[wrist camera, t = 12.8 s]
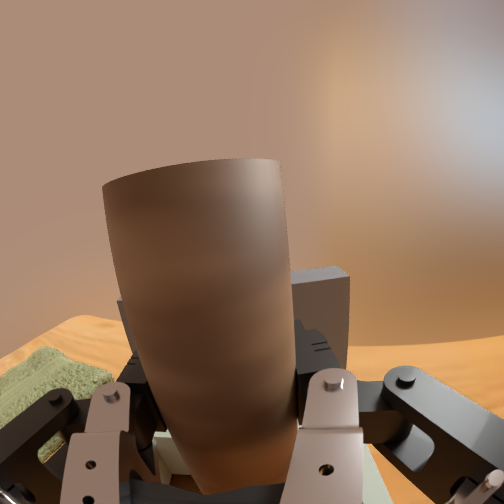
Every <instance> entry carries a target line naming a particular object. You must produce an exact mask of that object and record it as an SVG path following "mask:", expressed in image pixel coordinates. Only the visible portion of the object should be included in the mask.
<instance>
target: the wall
mask: <svg viewBox="0 0 504 504" xmlns="http://www.w3.org/2000/svg"><path fill="white" fill-rule="evenodd" d="M291 286H292V300H293V317H294V320H296V319H301V322H302V324H303V326H304V328H305V330H310V329H316V330H318V331H319V332H321V333H322V334H323V335H324V336H325V338H326V340H327V343H328V344H329V346H330V348H331V349H332V351H333V353H334V355H335V357H336V358H337V360H338V362H339V364H340V366H341V368H342V369H345V370H346V363H347V349H348V331H349V299H350V295H349V294H350V276H349V275H348V274H346V273H345V272H344V271H343V270H341V269H340V268H339V267H338V266H330V267H323V268H315V269H307V270H299V271H291ZM117 304H118V307H119V311H120V315H121V318H122V322H123V325H124V328H125V332H126V335H127V338H128V341H129V344H130V347H131V350H132V353H134V352H135V350H136V346H135V343H134V340H133V337H132V333H131V330H130V327H129V323H128V320H127V316H126V313H125V309H124V305H123V301H122V297H120V298H119V299H118V300H117Z"/></svg>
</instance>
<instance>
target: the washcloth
mask: <svg viewBox="0 0 504 504" xmlns="http://www.w3.org/2000/svg"><path fill="white" fill-rule="evenodd" d="M111 382H114V378H113V377H112V374H111V373H110V372H108V371H106V370H103V369H99V368H95V367H93V366H90V365H86V364H84V363H82V362H79V361H77V362H73V361H71V360H68V358H67V357H66V356H65V355H64V353H61V352H60V351H59V350H56V349H54V348H50V347H41V348H39V349H38V350H36V351H35V352H34V353H33V354H32V355H30V356H29V357H28V359H26V360H25V361H24V362H22V363H21V364H19V365H17V366H15V367H13V368H11V369H10V370H8V371H7V372H6V373H5V374H3V375H2V376H1V377H0V429H1V428H2V427H4V426H5V425H6V424H7V423H9V422H10V421H11V420H12V419H14V418H15V417H16V416H18V415H19V414H20V413H21V412H23V411H24V410H25V409H26V408H28V407H29V406H30V405H32V404H33V403H34V402H35V401H37V400H38V399H39V398H41V397H42V396H43V395H44V394H46V393H47V392H49V391H51V390H53V389H57V388H66V389H68V390H70V391H71V393H72V395H73V396H74V398H75V400H81V399H91V398H92V395H93V393H94V391H95V390H96V389H97V388H99V387H100V386H102V385H104V384H107V383H111ZM62 442H64V441H63V440H62V438H61V437H60V435H59V434H58V432H57V433H56V434H55V435H54V436H53V437H52V438H51V439H50V440H48V441H47V442H46V443H45V444H44V445H43V446H42V447H41V448H40V449H39V451H38V458H39V460H40V461H41V463H43V462H44V461H45V459H47V457H48V456H49V455H51V453H52V452H54V451H55V450H56V449H57V448H58V446H59V445H61V444H62Z"/></svg>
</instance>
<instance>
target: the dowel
mask: <svg viewBox="0 0 504 504" xmlns="http://www.w3.org/2000/svg"><path fill="white" fill-rule="evenodd" d="M102 190H103V199H104V207H105V215H106V221H107V229H108V234H109V241H110V246H111V252H112V256H113V262H114V267H115V271H116V276H117V281H118V285H119V289H120V293H121V297H122V301H123V305H124V309H125V313H126V316H127V320H128V323H129V327H130V330H131V333H132V337H133V340H134V343H135V346H136V349H137V352H138V355H139V358H140V361H141V364H142V367H143V370H144V373H145V375H146V378H147V381H148V383H149V386H150V389H151V391H152V394H153V396H154V399H155V401H156V403H157V406H158V408H159V411H160V413H161V415H162V417H163V420H164V422H165V424H166V426H167V429H168V431H169V433H170V435H171V437H172V439H173V441H174V443H175V445H176V447H177V449H178V451H179V453H180V455H181V457H182V459H183V461H184V463H185V465H186V466H187V468H188V470H189V472H190V474H191V475H192V477H193V479H194V481H195V482H196V484H197V486H198V487H199V489H200V491H201V492H202V494H203V495H211V494H217V493H222V492H227V491H231V490H236V489H240V488H244V487H248V486H258V485H269V484H278V483H286V479H287V475H288V471H289V467H290V463H291V459H292V454H293V450H294V446H295V441H296V436H297V432H298V420H297V393H296V355H295V335H294V317H293V300H292V286H291V272H290V259H289V247H288V235H287V224H286V213H285V204H284V194H283V184H282V175H281V166H280V162H278V161H275V160H268V159H249V158H248V159H221V160H209V161H200V162H191V163H184V164H178V165H171V166H166V167H161V168H156V169H151V170H146V171H143V172H139V173H135V174H131V175H127V176H124V177H121V178H118V179H115V180H113V181H110V182H108V183H106V184H105V185H103V187H102Z"/></svg>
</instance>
